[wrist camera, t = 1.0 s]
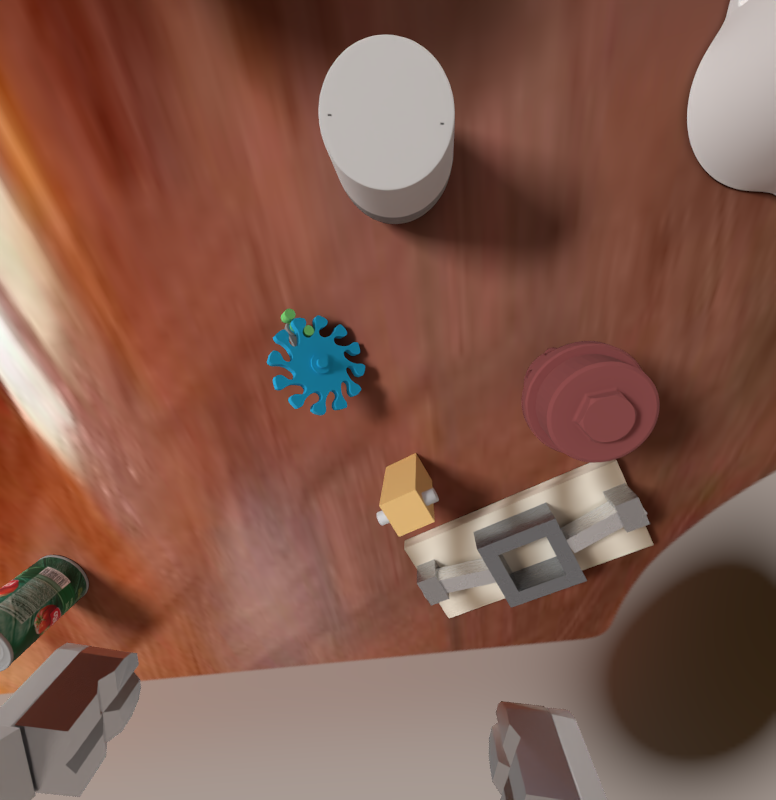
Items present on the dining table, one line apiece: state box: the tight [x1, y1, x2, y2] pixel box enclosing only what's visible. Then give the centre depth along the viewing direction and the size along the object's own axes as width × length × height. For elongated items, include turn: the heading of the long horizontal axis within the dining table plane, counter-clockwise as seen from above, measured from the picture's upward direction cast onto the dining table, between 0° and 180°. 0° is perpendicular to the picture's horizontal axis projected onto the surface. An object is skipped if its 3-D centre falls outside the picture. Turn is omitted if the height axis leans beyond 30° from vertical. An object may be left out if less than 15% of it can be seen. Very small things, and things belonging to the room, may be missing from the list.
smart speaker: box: [319, 35, 455, 224], centre depth 29 cm, size 10×9×14 cm
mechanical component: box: [522, 341, 660, 463], centre depth 34 cm, size 12×10×10 cm
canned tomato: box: [0, 555, 89, 671], centre depth 49 cm, size 8×8×11 cm
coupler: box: [377, 453, 439, 537], centre depth 41 cm, size 6×4×8 cm, turn 120°
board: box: [404, 460, 654, 618], centre depth 46 cm, size 26×12×2 cm, turn 120°
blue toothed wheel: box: [267, 309, 365, 415], centre depth 39 cm, size 11×6×10 cm
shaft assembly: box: [417, 483, 650, 607], centre depth 43 cm, size 26×9×3 cm, turn 120°
